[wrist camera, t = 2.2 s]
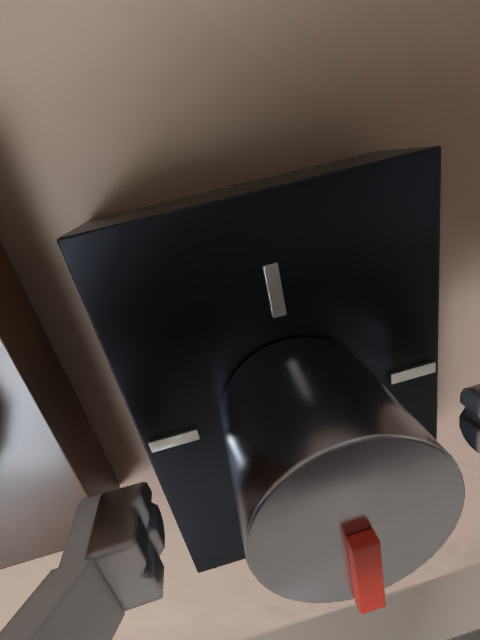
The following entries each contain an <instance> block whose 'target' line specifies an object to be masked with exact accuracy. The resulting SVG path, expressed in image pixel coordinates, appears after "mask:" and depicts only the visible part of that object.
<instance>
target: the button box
mask: <svg viewBox="0 0 480 640" xmlns="http://www.w3.org/2000/svg"><path fill="white" fill-rule="evenodd" d="M119 488H120V486H119V484H118V481H117V479H116V477H115V475H114V473H113V471H112V469H111V467H110V465H109V463H108V461H107V459H106V457H105V455H104V453H103V451H102V449H101V447H100V445H99V443H98V441H97V439H96V437H95V435H94V433H93V431H92V429H91V427H90V425H89V423H88V421H87V419H86V416H85V414H84V412H83V410H82V408H81V406H80V404H79V402H78V400H77V398H76V396H75V394H74V392H73V390H72V388H71V386H70V384H69V382H68V380H67V378H66V376H65V374H64V372H63V370H62V368H61V366H60V364H59V362H58V360H57V358H56V356H55V354H54V351H53V349H52V347H51V345H50V343H49V341H48V339H47V337H46V335H45V333H44V331H43V329H42V327H41V325H40V323H39V321H38V319H37V317H36V315H35V313H34V311H33V309H32V307H31V305H30V303H29V301H28V299H27V297H26V295H25V293H24V291H23V288H22V286H21V284H20V282H19V280H18V278H17V276H16V274H15V272H14V270H13V268H12V266H11V264H10V262H9V260H8V258H7V256H6V254H5V252H4V250H3V248H2V246H1V244H0V569H3V568H6V567H10V566H13V565H16V564H20V563H23V562H26V561H30V560H33V559H36V558H40V557H43V556H47V555H50V554H53V553H57V552H60V551H63V550H64V548H65V545H66V541H67V538H68V535H69V532H70V528H71V525H72V522H73V518H74V515H75V512H76V508H77V505H78V503H79V502H80V501H81V500H82V499H83V498H87V497H91V496H95V495H98V494H102V493H104V492H108V491H111V490H115V489H119Z"/></svg>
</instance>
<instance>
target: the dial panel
mask: <svg viewBox="0 0 480 640" xmlns="http://www.w3.org/2000/svg"><path fill="white" fill-rule="evenodd" d="M440 186H441V146H431V147H420V148H409V149H398V150H387V151H376V152H372V153H368V154H364V155H359V156H355V157H351V158H347V159H343V160H339V161H335V162H330V163H326V164H322V165H318V166H314V167H310V168H306V169H301V170H297V171H293V172H289V173H285V174H281V175H277V176H272V177H268V178H264V179H260V180H256V181H252V182H248V183H243V184H239V185H235V186H231V187H227V188H223V189H218V190H214V191H210V192H206V193H202V194H198V195H194V196H189V197H185V198H181V199H177V200H173V201H169V202H165V203H160V204H156V205H152V206H148V207H144V208H140V209H136V210H131V211H127V212H123V213H119V214H115V215H111V216H107V217H102V218H98V219H94V220H90V221H87V222H86V223H84V224H82V225H80V226H79V227H77V228H75V229H73V230H72V231H70V232H68V233H66V234H65V235H63V236H61V237H60V238H58V239H57V242H58V245H59V247H60V249H61V252H62V254H63V256H64V259H65V261H66V263H67V266H68V268H69V270H70V273H71V275H72V277H73V280H74V282H75V285H76V287H77V289H78V292H79V294H80V296H81V299H82V301H83V303H84V306H85V308H86V310H87V313H88V315H89V317H90V320H91V322H92V324H93V327H94V329H95V332H96V334H97V336H98V339H99V341H100V343H101V346H102V348H103V350H104V353H105V355H106V357H107V360H108V362H109V364H110V367H111V369H112V371H113V374H114V376H115V379H116V381H117V383H118V386H119V388H120V390H121V393H122V395H123V397H124V400H125V402H126V404H127V407H128V409H129V411H130V414H131V416H132V418H133V421H134V423H135V426H136V428H137V430H138V433H139V435H140V437H141V440H142V442H143V444H144V447H145V449H146V451H147V454H148V456H149V458H150V461H151V463H152V466H153V468H154V470H155V473H156V475H157V477H158V480H159V482H160V484H161V487H162V489H163V491H164V494H165V496H166V498H167V501H168V503H169V505H170V508H171V510H172V513H173V515H174V517H175V520H176V522H177V524H178V527H179V529H180V531H181V534H182V536H183V538H184V541H185V543H186V545H187V548H188V550H189V552H190V555H191V557H192V560H193V562H194V564H195V567H196V569H197V571H198V572H199V573H200V572H203V571H206V570H209V569H213V568H216V567H219V566H222V565H226V564H229V563H232V562H235V561H238V560H242V559H245V558H246V557H245V552H244V547H243V541H242V536H241V530H240V524H239V519H238V513H237V507H236V502H235V496H234V490H233V485H232V479H231V473H230V468H229V462H228V457H227V451H226V445H225V440H224V434H223V428H222V423H221V412H220V410H221V401H222V398H223V394H224V391H225V389H226V387H227V384H228V383H229V381H230V379H231V377H232V376H233V374H234V373H235V372H236V371H237V369H238V368H239V367H240V366H241V365H242V364H243V363H244V362H245V361H246V360H247V359H248V358H249V357H251V356H252V355H253V354H255V353H256V352H258V351H259V350H261V349H263V348H264V347H267V346H269V345H271V344H273V343H276V342H279V341H282V340H285V339H290V338H296V337H317V338H323V339H327V340H330V341H334V342H336V343H338V344H340V345H342V346H344V347H345V348H347V349H348V350H350V351H351V352H352V353H353V354H354V355H355V356H356V357H357V358H358V359H359V360H360V361H361V362H362V363H363V364H364V366H365V367H366V368H367V369H368V370H369V371H370V372H371V373H372V374H373V375H374V376H375V377H376V378H377V379H378V380H379V381H380V382H381V383H382V384H383V385H384V386H385V387H386V388H387V389H388V391H389V392H390V393H391V394H392V395H393V396H394V397H395V398H396V399H397V400H398V401H399V402H400V403H401V404H402V405H403V406H404V407H405V408H406V409H407V410H408V411H409V412H410V413H411V414H412V416H413V417H414V418H415V419H416V420H417V421H418V422H419V423H420V424H421V425H422V426H423V427H424V428H425V429H426V430H427V431H428V432H429V433H430V434H431V435H432V436H433V437H434V438H435V439H436V438H437V375H438V312H439V249H440Z"/></svg>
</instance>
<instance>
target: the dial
mask: <svg viewBox="0 0 480 640" xmlns="http://www.w3.org/2000/svg"><path fill="white" fill-rule="evenodd" d="M220 412H221V423H222V428H223V434H224V440H225V445H226V451H227V457H228V462H229V468H230V473H231V479H232V485H233V490H234V496H235V502H236V507H237V513H238V519H239V524H240V530H241V536H242V541H243V547H244V552H245V557H246V561H247V563H248V565H249V568H250V570H251V571H252V573H253V574H254V576H255V577H256V578H257V580H258V581H259V582H260V583H261V584H262V585H263V586H264V587H266V588H267V589H269V590H270V591H272V592H273V593H276V594H278V595H280V596H282V597H285V598H288V599H291V600H296V601H301V602H310V603H330V602H339V601H345V600H350V599H354V598H355V602H356V604H357V607H358V609H359V611H360V613H361V614H364V613H367V612H370V611H373V610H376V609H379V608H382V607H385V593H384V588H386V587H388V586H390V585H392V584H394V583H396V582H398V581H399V580H401V579H403V578H405V577H406V576H408V575H409V574H411V573H412V572H414V571H415V570H416V569H418V568H419V567H420V566H422V565H423V564H424V563H425V562H426V561H428V560H429V559H430V558H431V557H432V556H433V555H434V554H435V553H436V552H437V551H438V550H439V549H440V548H441V547H442V545H443V544H444V543H445V541H446V540H447V539H448V538H449V536H450V535H451V533H452V531H453V530H454V528H455V526H456V524H457V522H458V520H459V518H460V515H461V512H462V509H463V504H464V498H465V486H464V481H463V477H462V474H461V471H460V469H459V467H458V465H457V463H456V462H455V460H454V459H453V458H452V456H451V455H450V454H449V453H448V452H447V451H446V450H445V449H444V448H443V447H442V446H441V445H440V444H439V443H438V442H437V441H436V439H435V438H434V437H433V436H432V435H431V434H430V433H429V432H428V431H427V430H426V429H425V428H424V427H423V426H422V425H421V424H420V423H419V422H418V421H417V420H416V419H415V418H414V417H413V416H412V414H411V413H410V412H409V411H408V410H407V409H406V408H405V407H404V406H403V405H402V404H401V403H400V402H399V401H398V400H397V399H396V398H395V397H394V396H393V395H392V394H391V393H390V392H389V391H388V389H387V388H386V387H385V386H384V385H383V384H382V383H381V382H380V381H379V380H378V379H377V378H376V377H375V376H374V375H373V374H372V373H371V372H370V371H369V370H368V369H367V368H366V367H365V366H364V364H363V363H362V362H361V361H360V360H359V359H358V358H357V357H356V356H355V355H354V354H353V353H352V352H351V351H350V350H348V349H347V348H345V347H344V346H342V345H340V344H338V343H336V342H334V341H330V340H327V339H323V338H317V337H296V338H290V339H285V340H282V341H279V342H276V343H273V344H271V345H269V346H267V347H264V348H263V349H261V350H259V351H258V352H256V353H255V354H253V355H252V356H251V357H249V358H248V359H247V360H246V361H245V362H244V363H243V364H242V365H241V366H240V367H239V368H238V369H237V371H236V372H235V373H234V374H233V376H232V377H231V379H230V381H229V383H228V384H227V387H226V389H225V391H224V394H223V398H222V401H221V410H220Z"/></svg>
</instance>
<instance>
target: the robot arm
mask: <svg viewBox="0 0 480 640" xmlns="http://www.w3.org/2000/svg"><path fill="white" fill-rule="evenodd" d="M460 402H461V403H462V404H463V405H464V406H465V409H464V410H463V412H462V413H461V415H460V429H461V431H462V434H463V436H464V438H465V439H466V441H467V442H468V444H469V445H470V446H471V447H472V448H473V449H474V450H475V451H476V452H478V453H480V384H478V385H474V386H471V387H468V388H464V389H463V391H462V392H461V396H460ZM151 498H152V492H151V490H150V488H149V486H148V484H147V483H146V482H142V483H138V484H134V485H130V486H127V487H123V488H119V489H115V490H111V491H108V492H104V493H102V494H98V495H95V496H91V497H87V498H83V499H82V500H81V501H80V502H79V503H78V505H77V508H76V512H75V515H74V518H73V522H72V525H71V528H70V532H69V535H68V538H67V541H66V545H65V548H64V551H63V555H62V558H61V561H60V565H59V568H57V569H54V570H51V572H50V573H49V574H48V575H47V576H46V578H45V579H44V580H43V581H42V582H41V584H40V585H39V586H38V587H37V588H36V590H35V591H34V592H33V593H32V594H31V596H30V597H29V598H28V599H27V601H26V602H25V603H24V604H23V605H22V607H21V608H20V609H19V610H18V611H17V613H16V614H15V615H14V616H13V617H12V619H11V620H10V621H9V622H8V623H7V625H6V626H5V627H4V628H3V630H2V631H1V632H0V640H112V638H113V636H114V634H115V632H116V630H117V628H118V626H119V624H120V622H121V620H122V618H123V616H124V612H123V611H126V610H129V609H132V608H135V607H138V606H141V605H144V604H147V603H149V602H152V601H155V600H158V599H161V598H163V577H164V566H163V564H162V562H161V559H160V557H159V556H160V554H161V552H162V551H163V549H164V548H165V534H164V525H163V520H162V516H161V512H160V510H159V508H158V505H156V504H154V503H152V502H151ZM447 640H480V629H477V630H474V631H471V632H468V633H465V634H462V635H459V636H457V637H454V638H451V639H447Z"/></svg>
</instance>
